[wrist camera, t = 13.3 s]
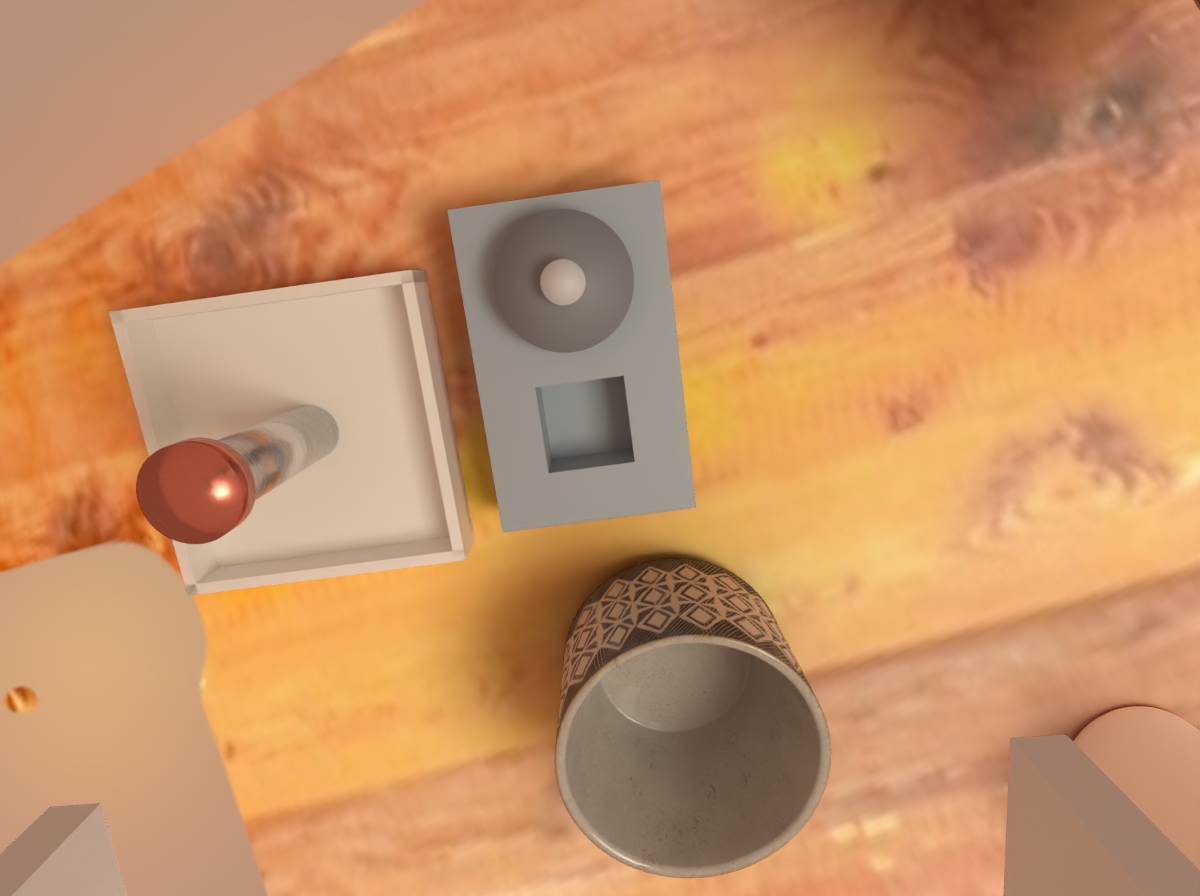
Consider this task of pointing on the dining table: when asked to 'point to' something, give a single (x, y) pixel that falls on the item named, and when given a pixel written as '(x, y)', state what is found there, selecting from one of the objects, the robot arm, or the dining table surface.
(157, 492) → the lock pin
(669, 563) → the planter
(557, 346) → the block
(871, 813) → the dining table surface
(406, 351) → the tray
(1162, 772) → the cup
